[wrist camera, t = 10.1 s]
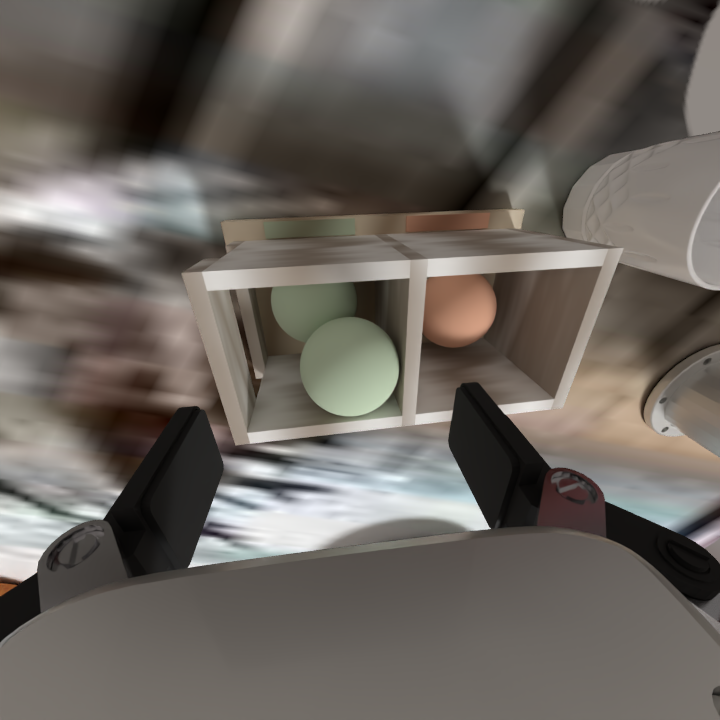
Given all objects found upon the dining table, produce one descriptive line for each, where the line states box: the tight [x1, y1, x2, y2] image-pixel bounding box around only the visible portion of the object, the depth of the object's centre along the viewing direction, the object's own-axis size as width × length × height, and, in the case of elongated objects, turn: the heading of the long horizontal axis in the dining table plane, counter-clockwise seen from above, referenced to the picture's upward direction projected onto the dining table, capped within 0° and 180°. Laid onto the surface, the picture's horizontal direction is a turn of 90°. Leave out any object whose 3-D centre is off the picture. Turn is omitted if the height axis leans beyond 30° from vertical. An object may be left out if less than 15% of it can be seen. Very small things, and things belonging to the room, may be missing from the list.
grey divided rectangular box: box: [181, 209, 624, 445], centre depth 20 cm, size 21×12×10 cm, turn 92°
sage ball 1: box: [271, 282, 357, 343], centre depth 20 cm, size 6×6×6 cm
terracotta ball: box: [422, 274, 497, 348], centre depth 21 cm, size 6×6×6 cm
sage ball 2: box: [300, 317, 399, 416], centre depth 17 cm, size 6×6×6 cm
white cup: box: [562, 131, 720, 290], centre depth 19 cm, size 8×8×10 cm
